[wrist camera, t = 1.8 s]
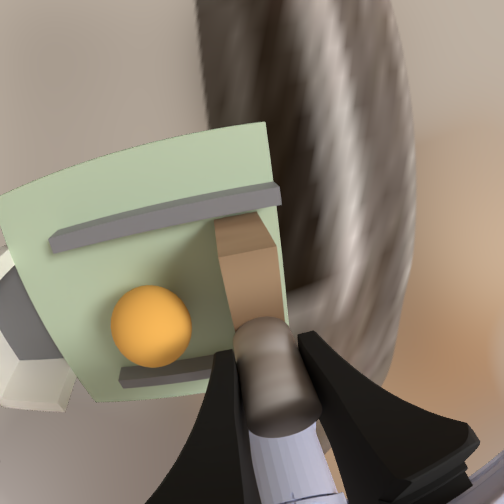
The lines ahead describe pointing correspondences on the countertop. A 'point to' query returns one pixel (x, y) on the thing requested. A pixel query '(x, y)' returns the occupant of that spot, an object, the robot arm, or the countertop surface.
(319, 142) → the countertop surface
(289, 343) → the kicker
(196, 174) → the pitch
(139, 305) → the ball
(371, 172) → the countertop surface
